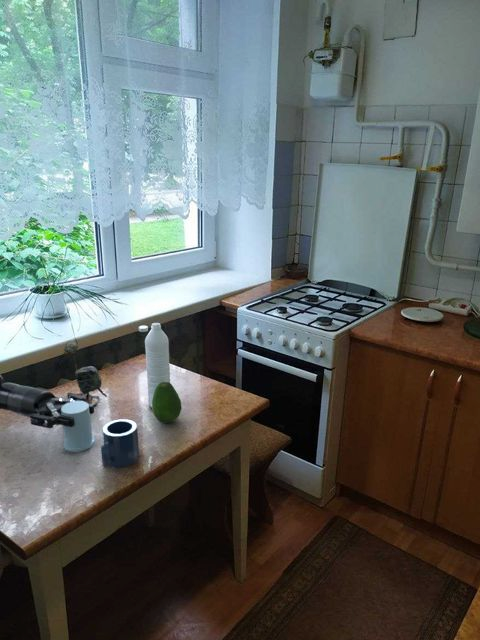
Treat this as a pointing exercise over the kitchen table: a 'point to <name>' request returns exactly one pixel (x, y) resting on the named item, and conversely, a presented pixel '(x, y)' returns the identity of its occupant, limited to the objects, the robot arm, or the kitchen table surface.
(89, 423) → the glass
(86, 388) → the plant with pod
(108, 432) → the navy pipe fitting
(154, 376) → the water bottle
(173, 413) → the avocado
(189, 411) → the kitchen table surface
